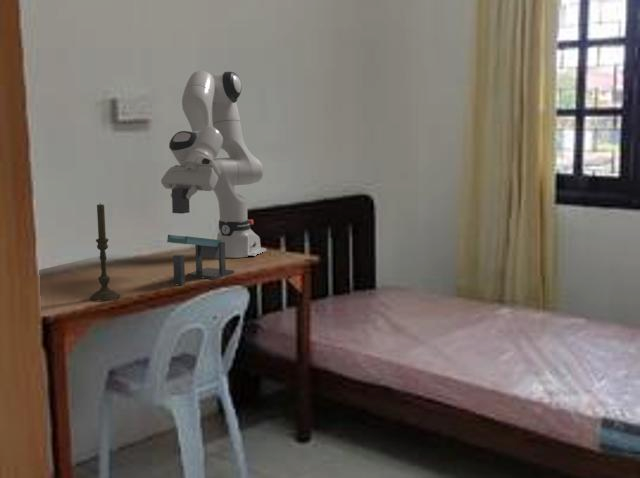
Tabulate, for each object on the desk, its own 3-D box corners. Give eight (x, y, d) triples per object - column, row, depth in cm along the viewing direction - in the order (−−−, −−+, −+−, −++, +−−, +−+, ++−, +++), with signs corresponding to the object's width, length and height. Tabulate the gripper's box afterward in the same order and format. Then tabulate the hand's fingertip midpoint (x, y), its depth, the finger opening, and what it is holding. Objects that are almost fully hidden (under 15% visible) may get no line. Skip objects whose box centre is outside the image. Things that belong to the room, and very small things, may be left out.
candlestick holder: (114, 293, 260) (110, 200, 255) (124, 298, 252) (119, 202, 247) (86, 297, 255) (81, 202, 250) (95, 302, 247) (90, 204, 243)
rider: (179, 211, 274) (179, 187, 272) (189, 212, 272) (188, 188, 271) (172, 212, 270) (171, 189, 269) (182, 213, 268) (181, 189, 267)
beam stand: (207, 270, 296) (206, 237, 294) (234, 273, 290) (233, 240, 289) (163, 283, 274) (162, 248, 272) (191, 286, 269) (190, 251, 267)
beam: (205, 257, 292) (207, 239, 292) (225, 259, 288) (227, 240, 288) (165, 254, 271) (167, 234, 271) (186, 256, 267) (188, 236, 267)
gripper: (167, 159, 279) (150, 190, 272) (217, 161, 270) (200, 193, 263) (176, 171, 284) (159, 201, 277) (225, 173, 274) (208, 205, 268)
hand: (179, 197), depth 270 cm, fingers closed on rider, 4 cm apart
